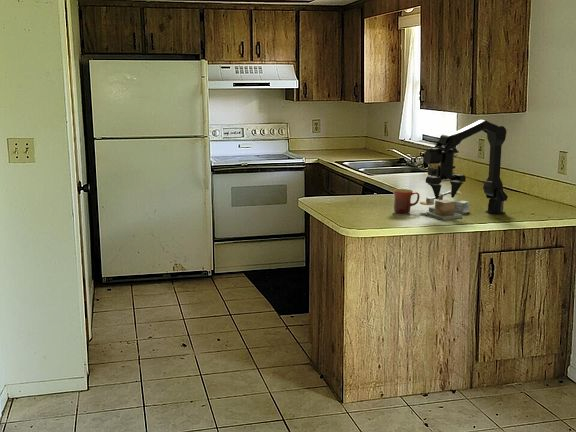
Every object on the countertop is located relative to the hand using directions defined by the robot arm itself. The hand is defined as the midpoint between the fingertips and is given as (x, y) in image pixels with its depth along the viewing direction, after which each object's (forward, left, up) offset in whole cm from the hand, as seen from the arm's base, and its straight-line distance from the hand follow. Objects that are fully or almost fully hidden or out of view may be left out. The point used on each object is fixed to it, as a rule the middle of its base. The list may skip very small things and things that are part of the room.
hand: (444, 198), depth 310 cm
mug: (+10, -14, -8) cm, 19 cm away
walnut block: (0, 0, -7) cm, 7 cm away
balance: (-7, -10, -8) cm, 15 cm away
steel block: (-14, -4, -8) cm, 17 cm away
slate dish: (0, 0, -8) cm, 8 cm away
